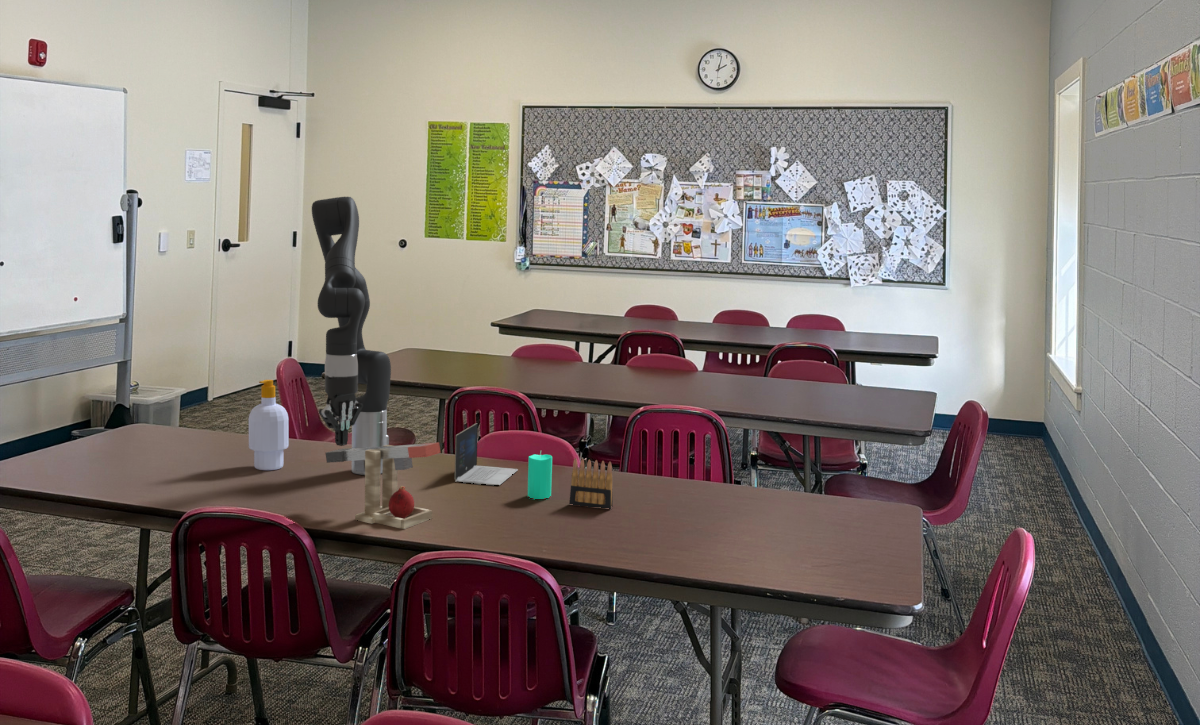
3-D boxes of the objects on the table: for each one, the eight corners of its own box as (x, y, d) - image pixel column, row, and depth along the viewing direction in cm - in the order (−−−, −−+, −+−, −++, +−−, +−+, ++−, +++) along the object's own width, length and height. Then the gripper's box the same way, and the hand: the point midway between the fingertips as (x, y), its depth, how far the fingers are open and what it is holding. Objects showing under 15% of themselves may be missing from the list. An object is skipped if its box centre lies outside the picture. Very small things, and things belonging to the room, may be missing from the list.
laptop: (499, 487, 264) (500, 438, 262) (453, 483, 266) (454, 435, 265) (518, 471, 282) (519, 426, 280) (475, 468, 284) (476, 422, 282)
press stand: (355, 519, 230) (355, 451, 228) (389, 508, 241) (390, 442, 238) (401, 530, 224) (402, 460, 222) (434, 517, 234) (436, 450, 232)
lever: (328, 474, 237) (325, 452, 237) (343, 470, 242) (340, 448, 242) (428, 469, 223) (425, 446, 223) (442, 465, 227) (439, 442, 227)
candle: (555, 495, 257) (556, 449, 256) (544, 501, 252) (545, 454, 250) (534, 492, 260) (536, 446, 258) (523, 497, 254) (524, 451, 253)
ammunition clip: (612, 508, 248) (614, 460, 247) (610, 510, 247) (612, 462, 245) (571, 503, 251) (572, 456, 249) (569, 505, 249) (570, 458, 248)
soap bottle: (240, 469, 271) (239, 380, 268) (266, 461, 281) (266, 376, 278) (271, 474, 268) (270, 384, 264) (296, 466, 277) (296, 379, 274)
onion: (408, 524, 228) (408, 490, 227) (384, 522, 229) (384, 488, 228) (417, 517, 234) (418, 484, 233) (394, 515, 235) (395, 482, 234)
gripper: (348, 368, 243) (348, 438, 246) (309, 374, 232) (309, 448, 234) (372, 371, 240) (372, 442, 242) (333, 377, 228) (333, 452, 230)
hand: (341, 445), depth 238 cm, fingers closed
